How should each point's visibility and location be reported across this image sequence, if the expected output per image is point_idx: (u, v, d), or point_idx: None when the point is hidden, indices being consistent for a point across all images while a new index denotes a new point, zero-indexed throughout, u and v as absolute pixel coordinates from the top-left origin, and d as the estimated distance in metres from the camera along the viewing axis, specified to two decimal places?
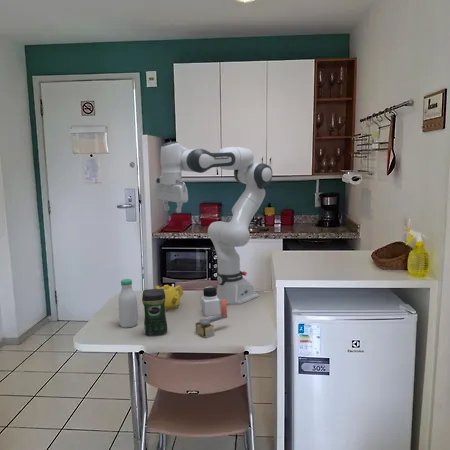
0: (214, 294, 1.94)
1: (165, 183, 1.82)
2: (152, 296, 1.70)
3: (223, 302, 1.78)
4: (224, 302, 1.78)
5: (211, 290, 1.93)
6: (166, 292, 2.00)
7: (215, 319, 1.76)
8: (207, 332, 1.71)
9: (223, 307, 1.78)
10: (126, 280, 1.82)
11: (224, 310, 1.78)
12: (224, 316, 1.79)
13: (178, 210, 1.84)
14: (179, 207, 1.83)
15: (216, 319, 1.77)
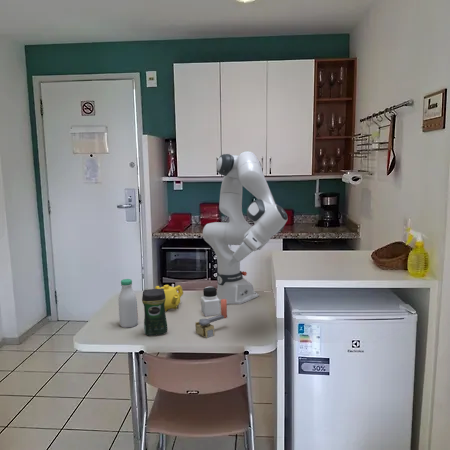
0: (214, 294, 1.94)
1: None
2: (152, 296, 1.70)
3: (223, 302, 1.78)
4: (224, 302, 1.78)
5: (211, 290, 1.93)
6: (166, 292, 2.00)
7: (215, 319, 1.76)
8: (207, 332, 1.71)
9: (223, 307, 1.78)
10: (126, 280, 1.82)
11: (224, 310, 1.78)
12: (224, 316, 1.79)
13: None
14: None
15: (216, 319, 1.77)
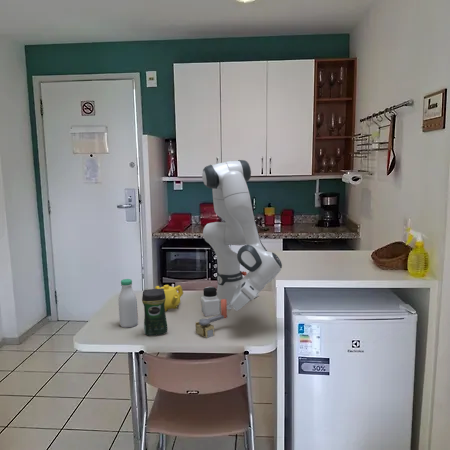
0: (214, 294, 1.94)
1: None
2: (152, 296, 1.70)
3: (223, 302, 1.78)
4: (224, 302, 1.78)
5: (211, 290, 1.93)
6: (166, 292, 2.00)
7: (215, 319, 1.76)
8: (207, 332, 1.71)
9: (223, 307, 1.78)
10: (126, 280, 1.82)
11: (224, 310, 1.78)
12: (224, 316, 1.79)
13: None
14: None
15: (216, 319, 1.77)
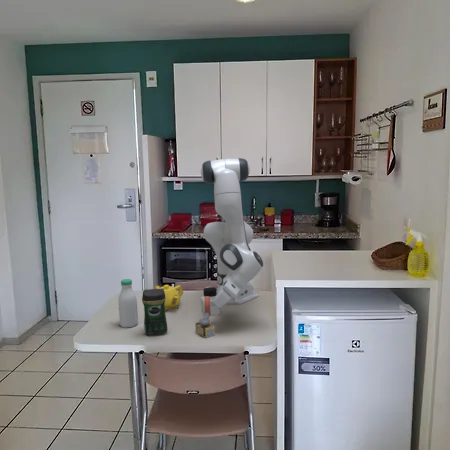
0: (214, 294, 1.94)
1: None
2: (152, 296, 1.70)
3: (208, 299, 1.82)
4: (209, 299, 1.82)
5: (211, 290, 1.93)
6: (166, 292, 2.00)
7: (208, 317, 1.79)
8: (207, 332, 1.71)
9: (209, 304, 1.82)
10: (126, 280, 1.82)
11: (209, 306, 1.83)
12: (209, 312, 1.83)
13: None
14: None
15: (208, 317, 1.79)
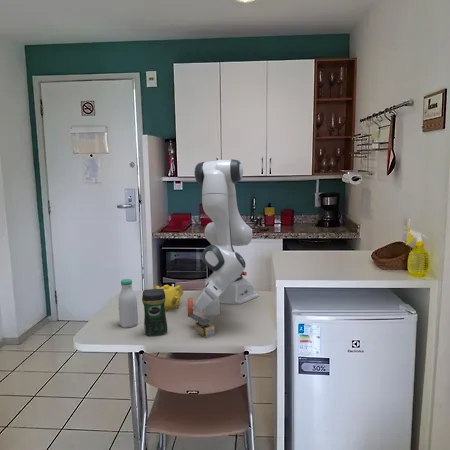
0: None
1: None
2: (152, 296, 1.70)
3: (192, 300, 1.81)
4: None
5: None
6: (166, 292, 2.00)
7: None
8: (207, 332, 1.71)
9: None
10: (126, 280, 1.82)
11: None
12: None
13: None
14: None
15: None
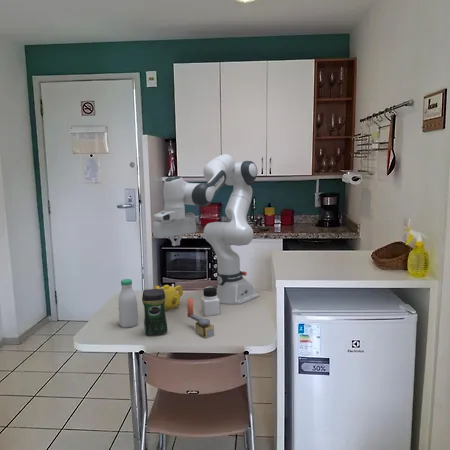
0: (214, 294, 1.94)
1: (182, 217, 1.83)
2: (152, 296, 1.70)
3: (192, 300, 1.81)
4: None
5: (211, 290, 1.93)
6: (166, 292, 2.00)
7: None
8: (207, 332, 1.71)
9: (192, 305, 1.81)
10: (126, 280, 1.82)
11: None
12: None
13: None
14: None
15: None
